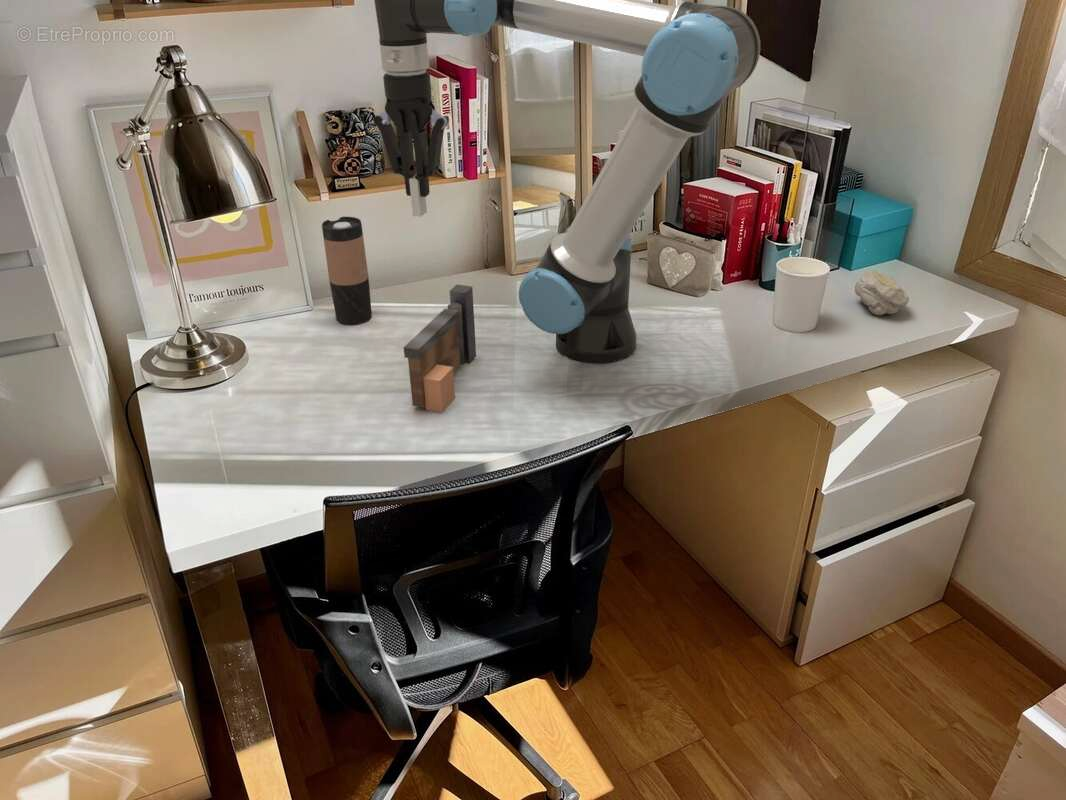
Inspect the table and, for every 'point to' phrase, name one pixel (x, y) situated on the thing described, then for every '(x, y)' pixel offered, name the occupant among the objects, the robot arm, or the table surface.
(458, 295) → the hinge post
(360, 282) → the travel mug
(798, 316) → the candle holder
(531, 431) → the table surface
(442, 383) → the block
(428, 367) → the walnut gate
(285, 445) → the table surface
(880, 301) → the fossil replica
